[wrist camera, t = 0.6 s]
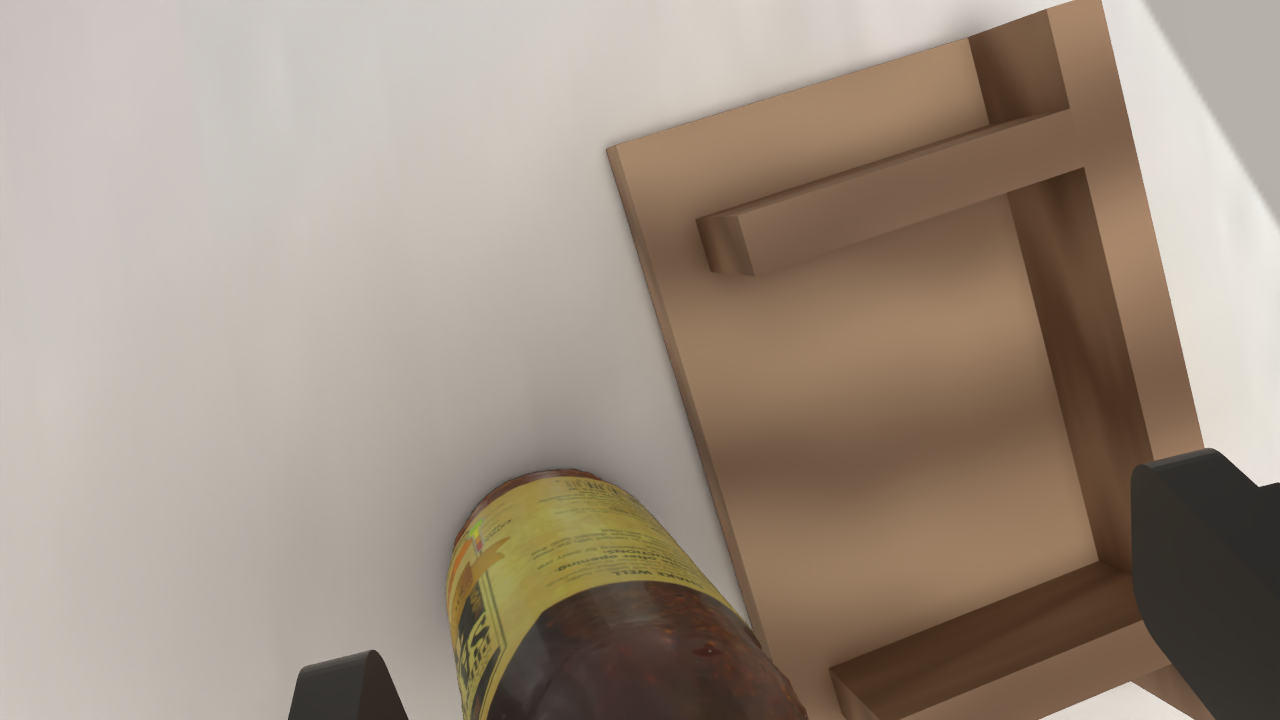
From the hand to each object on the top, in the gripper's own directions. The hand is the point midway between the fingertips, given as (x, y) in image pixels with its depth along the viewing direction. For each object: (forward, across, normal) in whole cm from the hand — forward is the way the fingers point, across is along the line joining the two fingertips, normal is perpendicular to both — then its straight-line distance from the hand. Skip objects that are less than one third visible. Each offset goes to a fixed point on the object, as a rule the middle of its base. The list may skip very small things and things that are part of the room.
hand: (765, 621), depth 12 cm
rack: (+20, -6, +10) cm, 23 cm away
